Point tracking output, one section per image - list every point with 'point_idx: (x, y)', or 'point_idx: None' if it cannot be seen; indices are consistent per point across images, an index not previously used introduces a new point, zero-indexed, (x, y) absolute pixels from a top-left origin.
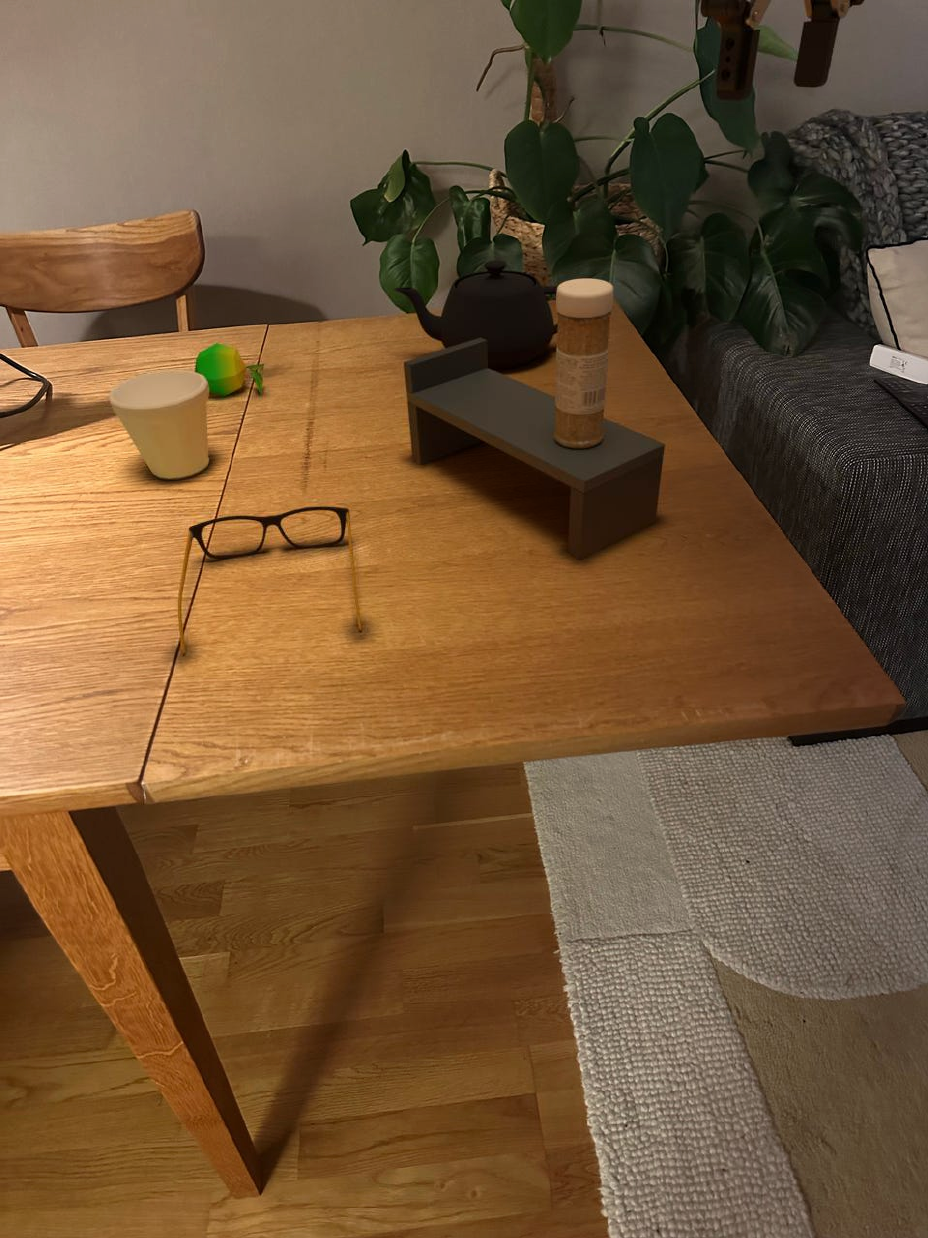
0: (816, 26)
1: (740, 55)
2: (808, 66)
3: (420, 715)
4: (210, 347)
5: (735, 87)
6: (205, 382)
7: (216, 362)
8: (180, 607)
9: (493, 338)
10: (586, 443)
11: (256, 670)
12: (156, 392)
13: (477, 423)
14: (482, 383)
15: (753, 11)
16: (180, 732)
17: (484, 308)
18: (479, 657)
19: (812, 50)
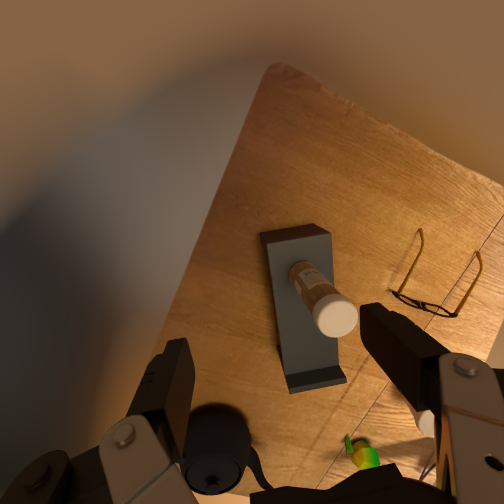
0: (175, 427)
1: (421, 337)
2: (187, 375)
3: (431, 168)
4: None
5: (394, 312)
6: (422, 415)
7: (372, 458)
8: (481, 267)
9: (233, 425)
10: (308, 262)
11: (461, 227)
12: (430, 425)
13: None
14: (300, 358)
15: (484, 371)
16: (497, 209)
17: (235, 449)
18: (392, 186)
19: (182, 392)
